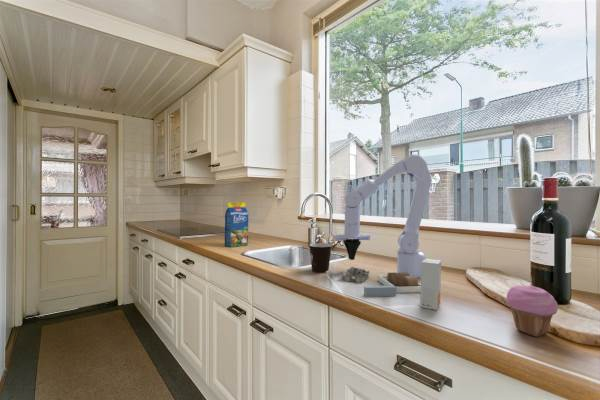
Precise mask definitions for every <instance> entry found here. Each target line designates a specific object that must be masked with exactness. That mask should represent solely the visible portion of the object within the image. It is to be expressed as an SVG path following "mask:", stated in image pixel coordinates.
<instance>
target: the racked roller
mask: <svg viewBox="0 0 600 400" xmlns="http://www.w3.org/2000/svg"><path fill="white" fill-rule="evenodd" d="M386 276H387V281H388V282H390V283H391V284H393V285H394V277H395V276H410V275H409V273H407V272H398V273H393V272H388V273H387V275H386Z"/></svg>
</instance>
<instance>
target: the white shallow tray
mask: <svg viewBox="0 0 600 400" xmlns="http://www.w3.org/2000/svg"><path fill="white" fill-rule="evenodd" d="M377 281H378V282H379V283H381V285H382V286H394V285H393V284H391V283H390V282H388V281H387V275H377ZM402 293H403V294H404V293H405V294H406V293H407V294H409V293H421V282H420V283H419V282H418V286H404V287H396V294H402Z"/></svg>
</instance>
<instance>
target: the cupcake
mask: <svg viewBox="0 0 600 400" xmlns="http://www.w3.org/2000/svg"><path fill="white" fill-rule="evenodd" d="M506 304H507V306H509V309H510V311H511V313H512V316H513V322H514V325H515V328H516V329H517V330H518V331H520V332H522V333H526V334H527V335H529V336H532V337H540V336H542V335H547V334H548V333H549V332H550V329H551V321H552V318H553V315H555V314H557V312H558V309H559V305H558V302H557V301H556V299H555V297H554V296H553V295H552V294H551V293H549V292H548V291H547V290H545V289H544V288H541V287H537V286H532V285H513V287H510V288H509V289H508V291H507V294H506Z"/></svg>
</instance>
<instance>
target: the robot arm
mask: <svg viewBox="0 0 600 400" xmlns="http://www.w3.org/2000/svg"><path fill="white" fill-rule="evenodd" d="M427 163H428V162H427V161H426V160H425V159H424V158H423V157H422V156H421V155H420V154H416V153H412V154H410V155H409V156H407V157H406V158H403V159H401V160H400V161H397V162H395V163H394V164H393V165H391V166H390V167H388V169H386V170H385V171H384V172H382V173H381V174H380V175H378V176H377V177H375V179H364V180H363V181H362V183H361V184H360V185H358V186H357V187H353V188H352V191H349V192H348V193H347V194H346V195H345V197H344V202H345V203H344V204H345V207H344V209H345V211H344V234H333V241H334V242H338V241H340V242H342V241H343V244H344V246H345V248H346V252H347V256H348V259H349V260H350V261H354V260H355V259H356V258H355V257H356V254H357V252H358V249H359V247H360V245H361V244H362V243H361V242H362V241H371V235H370V234H361V233H360V230H361V228H360V227H361V212H360V204H361V202H365V201H366V200H367V199H369V198H370V197H372V196H373V195H375V194H376V193H378V191H379V187H380V186H381V185H383V184H384V183H386V182H387V181H389V180H390V179H392V178H394V177H395V176H396V175H404V174H405V173H406V174H407V175H408V176H410V177H411V178H412V179H413V181H414V182H415V187H414V192H413V195H412V198H411V204H410V207H409V211H408V214H407V217H406V218H407V219H406V221H405V225H404V226H403V229H402V232H401V234H400V235H399V236H398V238H397V243H398V245H399V248H398V250H397V256H396V257H397V258H396V259H397V264H396V265H397V266H396V267H397V268H396V271H395V272H392V273H398V272H407V273H409V275H410V276H416V278H417V279H421V262H422V261H423V260H425V259H427V258H426V256H425V253H423V252H421V251H420V252H419V250H418V249H419V246H420V242H419V235H420V227H421V224H422V223H421V222H422V219H423V215H424V211H425V207H426V204H427V201H428V196H429V193H430V190H431V185H432V180H433V179H432V177H431V174H430V171H429V168H428V164H427Z"/></svg>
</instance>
